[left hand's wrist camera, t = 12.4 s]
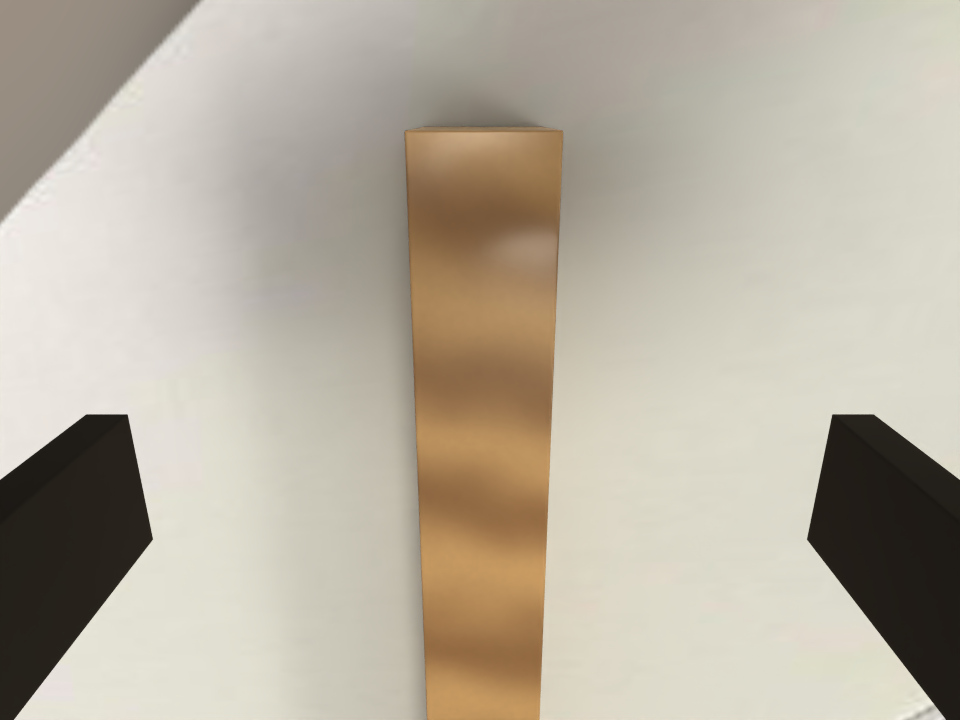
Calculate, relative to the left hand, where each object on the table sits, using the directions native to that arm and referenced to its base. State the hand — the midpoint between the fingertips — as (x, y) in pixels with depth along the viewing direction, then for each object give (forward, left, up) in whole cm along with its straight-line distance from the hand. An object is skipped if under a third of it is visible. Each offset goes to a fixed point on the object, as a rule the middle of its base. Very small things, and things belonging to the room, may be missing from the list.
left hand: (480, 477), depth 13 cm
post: (+19, +21, -20) cm, 35 cm away
